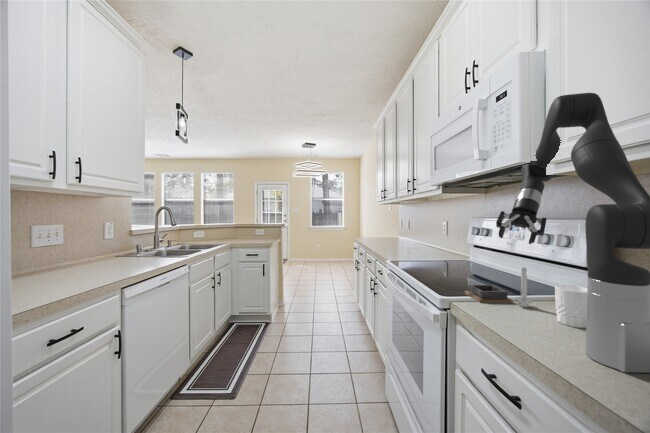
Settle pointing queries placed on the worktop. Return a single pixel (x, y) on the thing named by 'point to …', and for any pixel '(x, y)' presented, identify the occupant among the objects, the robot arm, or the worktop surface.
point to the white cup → (571, 305)
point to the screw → (524, 291)
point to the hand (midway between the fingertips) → (515, 239)
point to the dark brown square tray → (488, 294)
